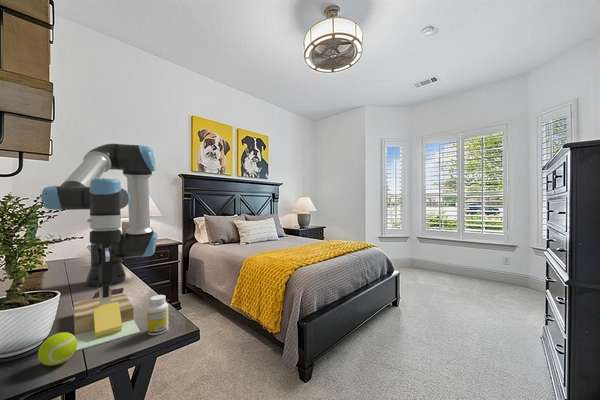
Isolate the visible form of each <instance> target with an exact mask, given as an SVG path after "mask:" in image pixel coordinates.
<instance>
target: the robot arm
mask: <svg viewBox="0 0 600 400" xmlns="http://www.w3.org/2000/svg"><path fill="white" fill-rule="evenodd" d="M155 159H156V158H155V155H154V152H153V149H152V148H151V147H150V146H148V145H142V144H139V145H138V144H127V143H126V144H124V143H107V144H103V145H100V146H97V147H95V148H91V150H89V151H88V152H87V153H86V154H85V155H84V156H83V159H82V163H80V165H79V166H77V167H76V168H75V170H74V171H73V172H72V173H71V174H70V175H69V176H68V177H67V178H66V179H65V180H64V181H63V182H62V183H61V184H60V185H53V186H52V185H51V186H50V185H48V186H46V187H45V186H44V188H43V189H42V191H41V195H40V198H41V199H40V200H41V202H42V201H45V203H44V206H43V207H44V208H45V209H47V210H55V211H65V210H64V209H67V210H66V211H72V210H74V211H75V210H77V211H78V210H82V211H83V210H85V211H86V210H89V218H88V219H87V220H86V223H89V229H90V231H89V243H90V268H89V271H88V274H87V276H86V278H85V285H86V286H87V287H96V288H97V289H98V291H99V306H100V305H105V304H109V303H111V289H112V285H115V284H118V283H122V282H123V281H125V280H126V277H127V274H126V272H125V269H124V267H123V263H122V259H129V258H132V259H133V258H144V257H151V256H153V255H154V254H155V251H156V245H157V242H158V241H157V240H158V233H157V232H155V231H154V228H153V227H152V226H151V223H150V221H151V220H150V219H151V218H150V217H151V216H150V190H149V189H150V187H149V186H150V185H149V184H150V183H149V178H150V177H152V175H153V172H155V171H156V169H157V168H156V160H155ZM110 170H111V171H112V170H116V171H117V170H118V171H122V175H123V176H124V177H126V183H127V184H126V186H127V190H126V189H124V188H122V185H121V181H120V180H119V179H117V178H116V179H115V178H101V177H102V176H103V174H104V173H106V172H108V171H110ZM46 193H47V194H46ZM127 206H128V208H127V209H128V228H127V229H126V230H125V233H123V232H122V230H120V228H121V227H122V225H121V223H122V222H121V221H122V215H121V209H124V208H126V207H127Z"/></svg>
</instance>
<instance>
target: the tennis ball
mask: <svg viewBox="0 0 600 400" xmlns="http://www.w3.org/2000/svg"><path fill="white" fill-rule="evenodd" d="M77 344H78V343H77V339H76V337H75V334H73V333H70V332H63V331H62V332H57V333H54V334H52V335H50V336H49V337H47V338H46V339H45V340H44V341H43V342H42V343H41V345H40V347H39V348H38V352H37V357H38V360H39V362H40V363H42V365H45V366H50V367H52V366H58V365H61V364H63V363H65V362H67V361H68V360H69V359H71V357H72V356H73V355H74V353H75V352H77V351H76V348H77Z"/></svg>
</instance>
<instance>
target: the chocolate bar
mask: <svg viewBox="0 0 600 400" xmlns="http://www.w3.org/2000/svg"><path fill="white" fill-rule="evenodd" d="M121 293H124V287H120V288H119V287H118V288H113V289H112V288H111V295H116V294H121ZM95 298H99V290H98V291H96V293H95V295H94V297H93V298H92V299H95Z"/></svg>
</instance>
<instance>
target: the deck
mask: <svg viewBox="0 0 600 400" xmlns="http://www.w3.org/2000/svg"><path fill="white" fill-rule="evenodd" d="M114 302H119V308H120V314H121V321H122V323H123V322H127V321H131V320H134V306H133V305H132V302H131V301H130V300H129V298H128V296H127V295H126V293H125V292H123V293H121V294H116V295H111V303H114ZM95 306H99V298H95V299H93V298H91V299H85V300H81V301H76V302H73V326H74V327H73V328H74V330H73V331H74V336H75V335H77V334H81V333H84V332H88V331H92V330H94V316H93V307H95Z"/></svg>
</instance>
